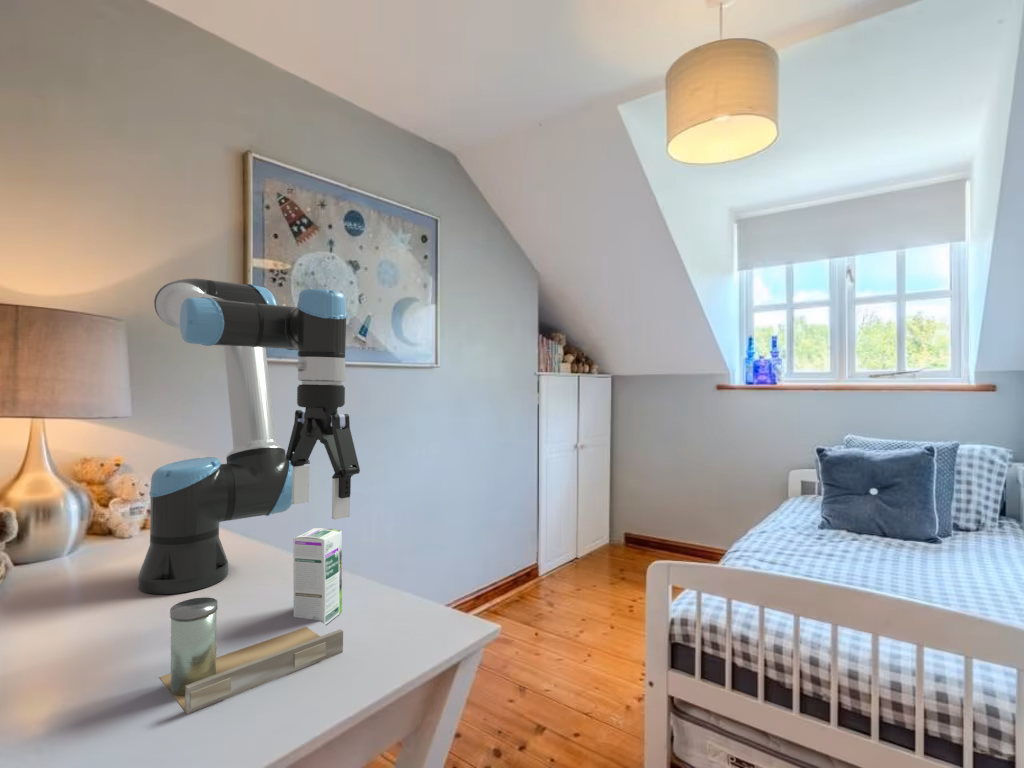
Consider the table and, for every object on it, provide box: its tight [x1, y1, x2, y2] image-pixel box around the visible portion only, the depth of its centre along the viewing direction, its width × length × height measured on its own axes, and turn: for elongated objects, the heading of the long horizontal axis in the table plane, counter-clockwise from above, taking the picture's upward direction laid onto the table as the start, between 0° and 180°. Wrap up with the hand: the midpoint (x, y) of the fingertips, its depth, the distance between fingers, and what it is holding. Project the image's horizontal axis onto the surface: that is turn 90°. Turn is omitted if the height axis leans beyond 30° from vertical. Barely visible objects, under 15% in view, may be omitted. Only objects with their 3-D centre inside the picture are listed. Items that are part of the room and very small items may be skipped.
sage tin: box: [169, 596, 218, 696], centre depth 69 cm, size 5×5×10 cm
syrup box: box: [292, 527, 343, 626], centre depth 91 cm, size 6×6×14 cm
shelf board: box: [159, 626, 344, 715], centre depth 74 cm, size 11×20×4 cm, turn 137°
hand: (319, 510), depth 91 cm, fingers open, 13 cm apart
